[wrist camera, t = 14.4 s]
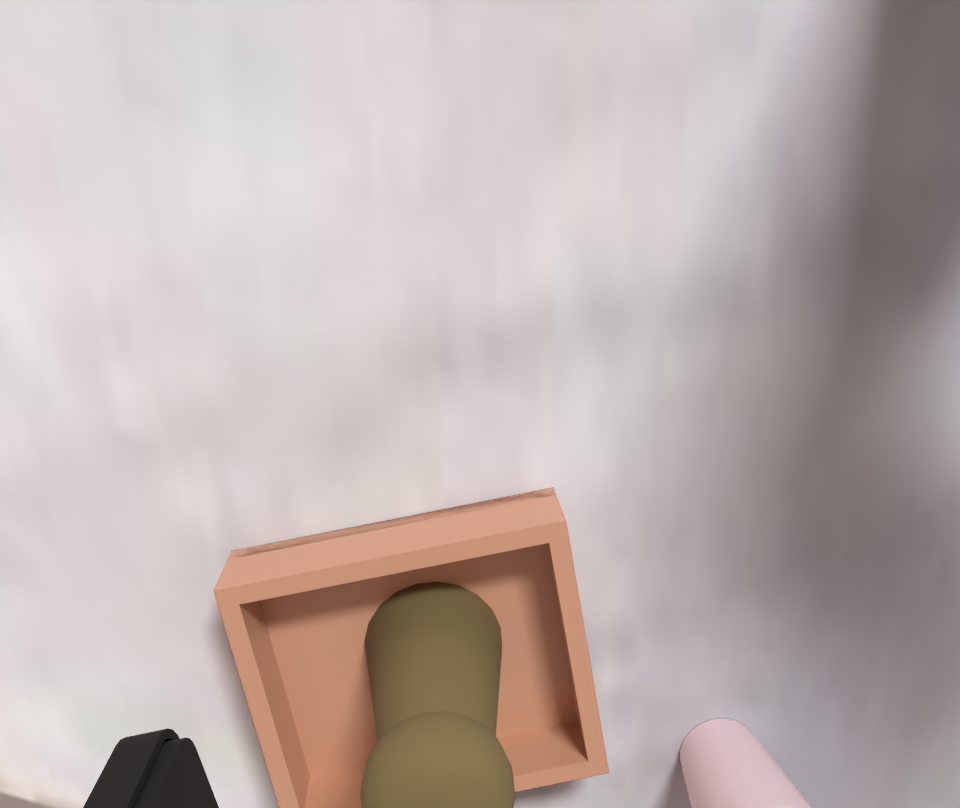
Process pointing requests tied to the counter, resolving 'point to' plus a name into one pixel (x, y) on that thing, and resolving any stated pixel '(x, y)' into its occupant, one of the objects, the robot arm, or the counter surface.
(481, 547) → the terracotta tray
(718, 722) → the smoothie
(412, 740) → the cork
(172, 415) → the counter surface
